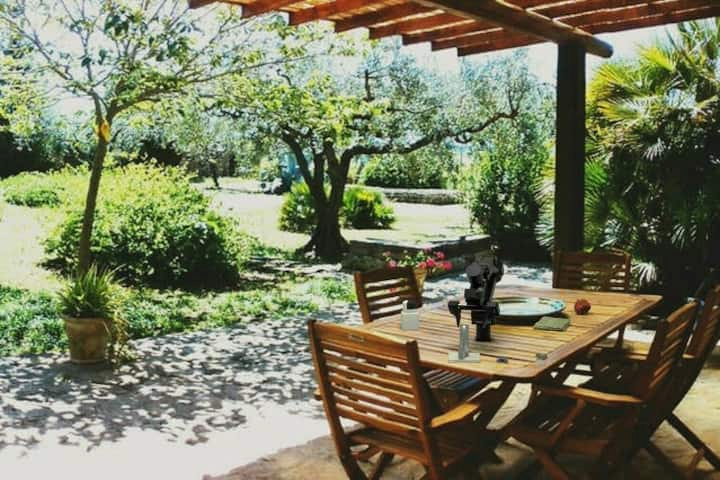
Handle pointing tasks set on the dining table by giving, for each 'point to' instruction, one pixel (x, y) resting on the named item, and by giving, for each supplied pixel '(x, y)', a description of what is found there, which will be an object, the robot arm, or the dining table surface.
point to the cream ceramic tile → (472, 358)
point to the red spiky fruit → (582, 306)
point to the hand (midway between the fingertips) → (470, 327)
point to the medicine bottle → (410, 316)
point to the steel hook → (464, 342)
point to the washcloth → (552, 324)
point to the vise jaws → (502, 359)
